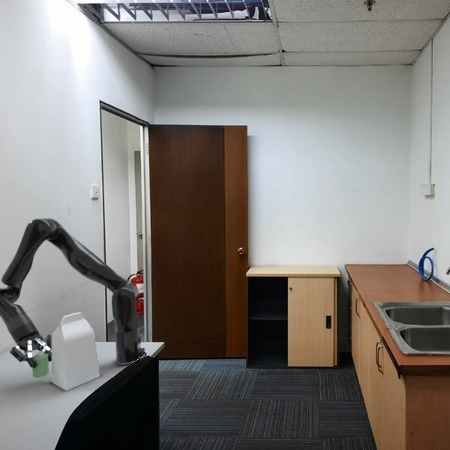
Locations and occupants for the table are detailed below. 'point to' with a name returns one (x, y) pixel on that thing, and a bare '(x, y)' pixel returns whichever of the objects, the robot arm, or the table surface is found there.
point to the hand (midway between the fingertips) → (43, 363)
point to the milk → (74, 352)
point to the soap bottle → (41, 365)
